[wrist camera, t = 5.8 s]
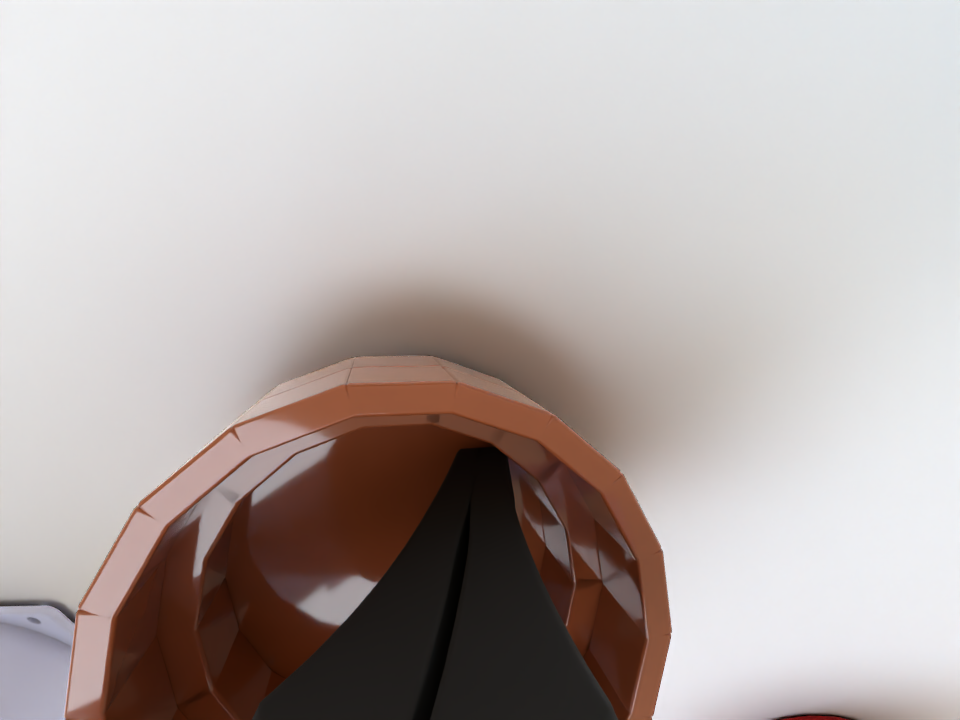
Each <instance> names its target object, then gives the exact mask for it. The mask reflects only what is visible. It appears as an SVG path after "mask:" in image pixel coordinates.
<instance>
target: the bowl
mask: <svg viewBox="0 0 960 720" xmlns="http://www.w3.org/2000/svg"><path fill="white" fill-rule="evenodd" d="M481 447H496V448H497V449H498V450H499V451H501V452H502V453H503V454H504V455H506V456H507V457H508V462H509V468H510V474H511V480H512V486H513V492H514V498H515V510H516V513H517V516H518V520H519V523H520V526H521V529H522V531H523V534H524V537H525V539H526V542H527V545H528V547H529V550H530V553H531V555H532V557H533V560H534V562H535V565H536V567H537V569H538V571H539V574H540V576H541V578H542V581H543V583H544V585H545V587H546V589H547V591H548V593H549V595H550V597H551V599H552V602H553V604H554V605H555V607H556V609H557V611H558V613H559V615H560V617H561V619H562V621H563V622H564V624H565V626H566V628H567V630H568V632H569V634H570V636H571V638H572V639H573V641H574V643H575V645H576V646H577V648H578V650H579V652H580V653H581V655H582V657H583V658H584V660H585V662H586V664H587V665H588V667H589V669H590V670H591V672H592V674H593V675H594V677H595V678H596V680H597V682H598V683H599V685H600V686H601V688H602V690H603V691H604V693H605V694H606V696H607V697H608V699H609V701H610V702H611V704H612V707H613V709H614V711H615V714H616V716H617V718H618V720H652V716H653V714H654V710H655V705H656V701H657V697H658V692H659V688H660V683H661V679H662V675H663V670H664V666H665V661H666V657H667V653H668V648H669V644H670V639H671V634H670V633H671V632H672V628H671V619H670V610H669V601H668V592H667V584H666V575H665V566H664V557H663V551H662V549H661V545H660V543H659V541H658V539H657V538H656V536H655V534H654V532H653V530H652V528H651V526H650V524H649V522H648V520H647V518H646V517H645V515H644V513H643V511H642V509H641V507H640V505H639V503H638V501H637V499H636V497H635V495H634V494H633V492H632V490H631V488H630V486H629V484H628V482H627V480H626V478H625V476H624V475H623V474H622V473H621V472H620V470H619V469H618V468H617V467H616V466H615V465H614V464H612V463H611V462H610V461H609V460H608V459H606V458H605V457H604V456H603V455H602V454H601V453H599V452H598V451H597V450H596V449H595V448H594V447H592V446H591V445H590V444H589V443H588V442H586V441H585V440H584V439H583V438H582V437H581V436H579V435H578V434H577V433H576V432H575V431H574V430H572V429H571V428H570V427H569V426H568V425H566V424H565V423H564V422H563V421H562V420H561V419H559V418H558V417H557V416H556V415H554V414H553V413H551V412H550V411H548V410H547V409H545V408H543V407H542V406H540V405H539V404H537V403H536V402H534V401H533V400H531V399H530V398H528V397H526V396H525V395H523V394H522V393H520V392H519V391H517V390H516V389H514V388H513V387H511V386H509V385H508V384H506V383H505V382H503V381H502V380H499V379H498V378H495V377H492V376H490V375H487V374H484V373H481V372H478V371H475V370H472V369H470V368H467V367H464V366H461V365H458V364H455V363H452V362H450V361H447V360H444V359H441V358H438V357H435V356H433V357H432V356H430V355H424V356H357V357H355V358H354V357H352V358H349V359H346V360H344V361H341V362H338V363H335V364H333V365H330V366H327V367H324V368H322V369H319V370H316V371H313V372H311V373H308V374H305V375H303V376H300V377H297V378H294V379H292V380H289V381H286V382H283V383H281V384H280V385H279V386H276V387H275V388H273V389H272V390H271V391H270V392H269V393H267V394H266V395H265V396H264V397H263V398H261V399H260V400H259V401H258V402H257V403H255V404H254V405H253V406H252V407H250V408H249V409H248V410H247V411H246V412H244V413H243V414H242V415H241V416H240V417H238V418H237V419H236V420H235V421H234V422H232V423H231V424H230V425H229V426H228V427H226V428H225V429H224V430H223V431H221V432H220V433H219V434H218V435H217V436H216V437H214V438H213V439H212V440H211V441H210V442H209V443H207V444H206V445H205V446H204V447H203V448H202V449H200V450H199V451H198V452H197V453H196V454H195V455H193V456H192V457H191V458H190V459H189V460H188V461H186V462H185V463H184V464H183V465H182V466H181V467H179V468H178V469H177V470H176V471H175V472H174V473H172V474H171V475H170V476H169V477H168V478H167V479H165V480H164V481H163V482H162V483H161V484H160V485H158V486H157V487H156V488H155V489H154V490H153V491H151V492H150V493H149V494H148V495H147V496H146V497H144V498H143V499H142V500H141V501H140V502H139V504H138V505H137V506H136V507H135V508H134V509H133V511H132V513H131V514H130V516H129V518H128V520H127V521H126V523H125V525H124V527H123V528H122V530H121V532H120V534H119V535H118V537H117V539H116V541H115V542H114V544H113V546H112V548H111V549H110V551H109V553H108V555H107V556H106V558H105V560H104V562H103V563H102V565H101V567H100V569H99V570H98V572H97V574H96V575H95V577H94V579H93V581H92V582H91V584H90V586H89V588H88V589H87V591H86V593H85V595H84V596H83V598H82V600H81V602H80V603H79V606H78V611H77V612H76V618H75V626H74V635H73V643H72V651H71V660H70V668H69V676H68V685H67V693H66V701H65V710H64V719H65V720H252V718H253V716H254V714H255V712H256V710H257V708H258V706H259V703H260V702H261V701H262V700H263V699H264V698H265V697H267V696H268V695H269V694H270V693H271V692H272V691H273V690H274V689H275V688H277V687H278V686H279V685H280V684H281V683H282V682H283V681H284V680H285V679H286V678H288V677H289V676H290V675H291V674H292V673H293V672H294V671H295V670H296V669H298V668H299V667H300V666H301V665H302V664H303V663H304V662H305V661H306V660H307V659H308V658H309V657H310V656H311V655H312V654H313V653H314V652H315V651H316V650H317V649H318V648H319V647H320V646H321V645H322V644H323V643H324V642H325V641H326V640H327V639H328V638H329V637H330V636H331V635H332V634H333V633H334V632H335V631H336V630H337V629H338V628H339V627H340V626H341V625H342V624H343V623H344V621H345V620H346V619H347V618H348V617H349V616H350V615H351V614H352V613H353V611H354V610H355V609H356V608H357V607H358V606H359V605H360V603H361V602H362V601H363V600H364V599H365V597H366V596H367V595H368V594H369V593H370V591H371V590H372V589H373V588H374V587H375V585H376V584H377V583H378V582H379V580H380V579H381V578H382V577H383V575H384V574H385V573H386V571H387V570H388V569H389V567H390V566H391V565H392V563H393V562H394V561H395V559H396V558H397V556H398V555H399V554H400V552H401V551H402V549H403V548H404V546H405V545H406V543H407V542H408V540H409V539H410V537H411V536H412V534H413V533H414V531H415V529H416V528H417V526H418V525H419V523H420V522H421V520H422V518H423V517H424V515H425V513H426V512H427V510H428V508H429V506H430V505H431V503H432V501H433V499H434V498H435V496H436V494H437V492H438V490H439V489H440V487H441V485H442V483H443V481H444V479H445V477H446V475H447V473H448V471H449V469H450V467H451V465H452V463H453V460H454V458H455V456H456V454H457V452H458V451H459V450H460V449H465V448H481Z"/></svg>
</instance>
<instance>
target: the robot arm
mask: <svg viewBox="0 0 960 720" xmlns="http://www.w3.org/2000/svg"><path fill="white" fill-rule="evenodd" d="M74 626H75V624H74V623H73V622H72V621H71V620H70V619H69V618H67V617H66V616H65V615H64V614H63V613H62V612H61V611H59V610H58V609H56V608H54V607H51V606H45V605H44V606H0V720H65V719H64V710H65V701H66V693H67V685H68V676H69V668H70V660H71V651H72V643H73V635H74ZM252 720H618V718H617V716H616V714H615V711H614V709H613V707H612V704H611V702H610V701H609V699H608V697H607V696H606V694H605V693H604V691H603V690H602V688H601V686H600V685H599V683H598V682H597V680H596V678H595V677H594V675H593V674H592V672H591V670H590V669H589V667H588V665H587V664H586V662H585V660H584V658H583V657H582V655H581V653H580V652H579V650H578V648H577V646H576V645H575V643H574V641H573V639H572V638H571V636H570V634H569V632H568V630H567V628H566V626H565V624H564V622H563V621H562V619H561V617H560V615H559V613H558V611H557V609H556V607H555V605H554V604H553V602H552V599H551V597H550V595H549V593H548V591H547V589H546V587H545V585H544V583H543V581H542V578H541V576H540V574H539V571H538V569H537V567H536V565H535V562H534V560H533V557H532V555H531V553H530V550H529V547H528V545H527V542H526V539H525V537H524V534H523V531H522V529H521V526H520V523H519V520H518V516H517V513H516V510H515V498H514V492H513V486H512V480H511V474H510V468H509V462H508V457H507V456H506V455H504V454H503V453H502V452H501V451H499V450H498V449H497V448H496V447H481V448H465V449H460V450H459V451H458V452H457V454H456V456H455V458H454V460H453V463H452V465H451V467H450V469H449V471H448V473H447V475H446V477H445V479H444V481H443V483H442V485H441V487H440V489H439V490H438V492H437V494H436V496H435V498H434V499H433V501H432V503H431V505H430V506H429V508H428V510H427V512H426V513H425V515H424V517H423V518H422V520H421V522H420V523H419V525H418V526H417V528H416V529H415V531H414V533H413V534H412V536H411V537H410V539H409V540H408V542H407V543H406V545H405V546H404V548H403V549H402V551H401V552H400V554H399V555H398V556H397V558H396V559H395V561H394V562H393V563H392V565H391V566H390V567H389V569H388V570H387V571H386V573H385V574H384V575H383V577H382V578H381V579H380V580H379V582H378V583H377V584H376V585H375V587H374V588H373V589H372V590H371V591H370V593H369V594H368V595H367V596H366V597H365V599H364V600H363V601H362V602H361V603H360V605H359V606H358V607H357V608H356V609H355V610H354V611H353V613H352V614H351V615H350V616H349V617H348V618H347V619H346V620H345V621H344V623H343V624H342V625H341V626H340V627H339V628H338V629H337V630H336V631H335V632H334V633H333V634H332V635H331V636H330V637H329V638H328V639H327V640H326V641H325V642H324V643H323V644H322V645H321V646H320V647H319V648H318V649H317V650H316V651H315V652H314V653H313V654H312V655H311V656H310V657H309V658H308V659H307V660H306V661H305V662H304V663H303V664H302V665H301V666H300V667H299V668H298V669H296V670H295V671H294V672H293V673H292V674H291V675H290V676H289V677H288V678H286V679H285V680H284V681H283V682H282V683H281V684H280V685H279V686H278V687H277V688H275V689H274V690H273V691H272V692H271V693H270V694H269V695H268V696H267V697H265V698H264V699H263V700H262V701H261V702H260V703H259V706H258V708H257V710H256V712H255V714H254V716H253V718H252Z"/></svg>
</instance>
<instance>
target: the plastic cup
mask: <svg viewBox="0 0 960 720" xmlns="http://www.w3.org/2000/svg"><path fill="white" fill-rule="evenodd" d="M781 720H849V719H844V718H840V717H835V716H802V717H794V718H787V719H781Z"/></svg>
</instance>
